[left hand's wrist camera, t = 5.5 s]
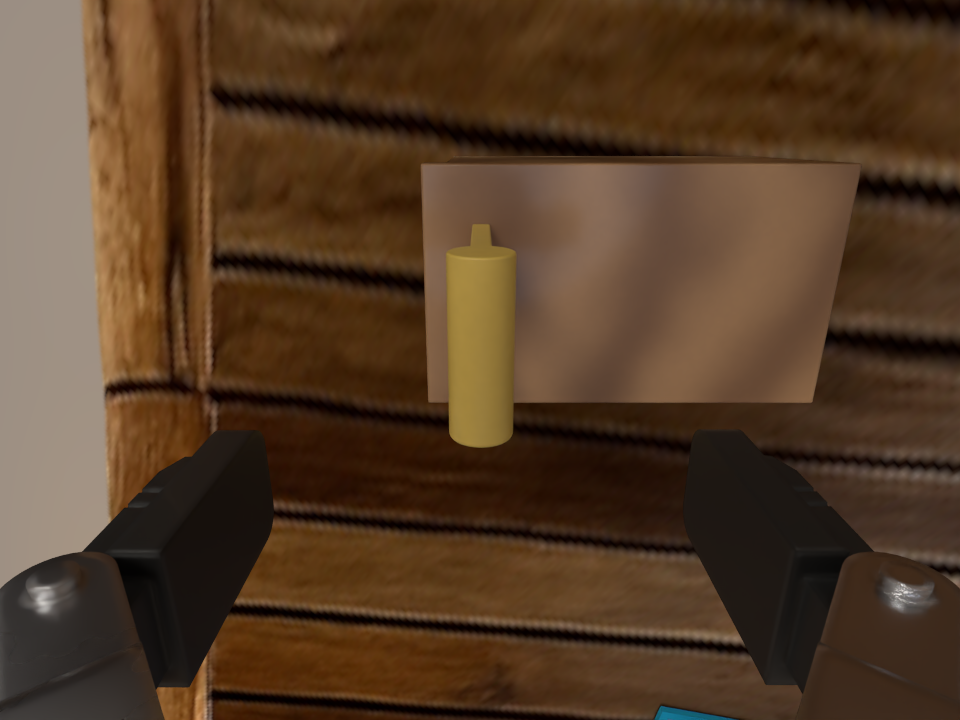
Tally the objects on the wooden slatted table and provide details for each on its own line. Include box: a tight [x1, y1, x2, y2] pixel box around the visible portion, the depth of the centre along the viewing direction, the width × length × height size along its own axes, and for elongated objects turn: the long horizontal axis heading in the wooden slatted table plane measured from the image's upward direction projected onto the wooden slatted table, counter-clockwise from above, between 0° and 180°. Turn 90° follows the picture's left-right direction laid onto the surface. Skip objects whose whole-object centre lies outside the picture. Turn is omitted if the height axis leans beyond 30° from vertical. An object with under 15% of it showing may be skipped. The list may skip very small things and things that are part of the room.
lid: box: [421, 163, 862, 448], centre depth 21 cm, size 17×10×9 cm, turn 90°
